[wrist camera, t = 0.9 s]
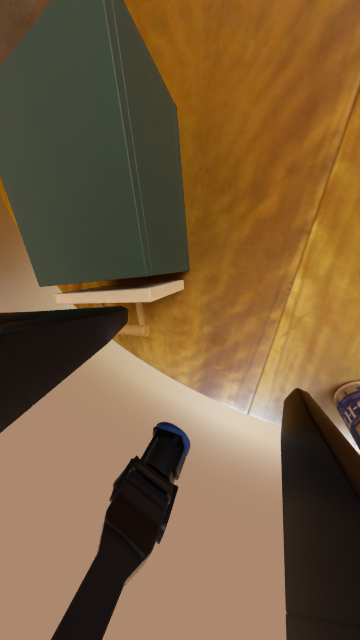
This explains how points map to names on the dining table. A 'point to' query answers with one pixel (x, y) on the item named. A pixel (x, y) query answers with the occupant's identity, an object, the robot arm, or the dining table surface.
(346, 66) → the dining table surface
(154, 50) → the dining table surface
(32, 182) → the cabinet
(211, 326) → the dining table surface
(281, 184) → the dining table surface
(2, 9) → the decorative sphere
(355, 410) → the pill bottle
